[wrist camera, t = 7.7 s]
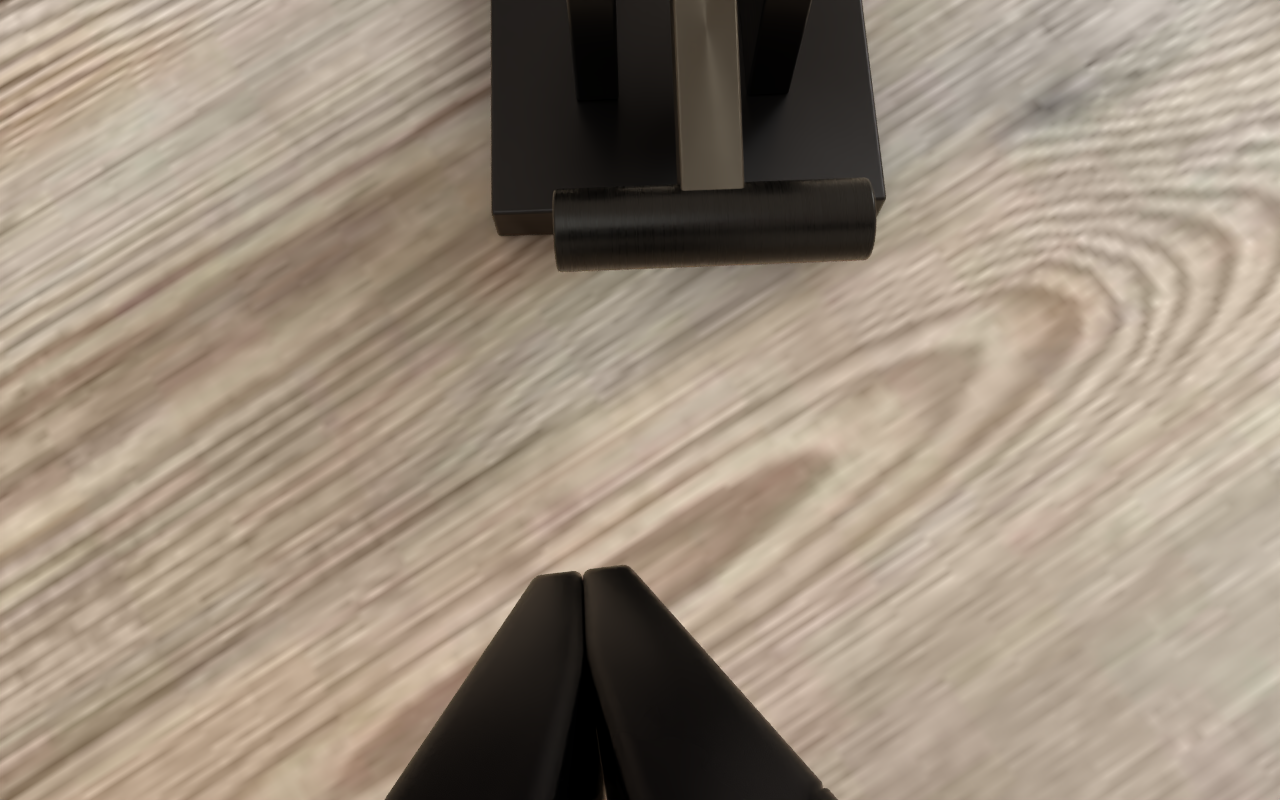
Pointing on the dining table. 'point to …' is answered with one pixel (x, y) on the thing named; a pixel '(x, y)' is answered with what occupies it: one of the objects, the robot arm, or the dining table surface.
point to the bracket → (668, 99)
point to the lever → (711, 182)
